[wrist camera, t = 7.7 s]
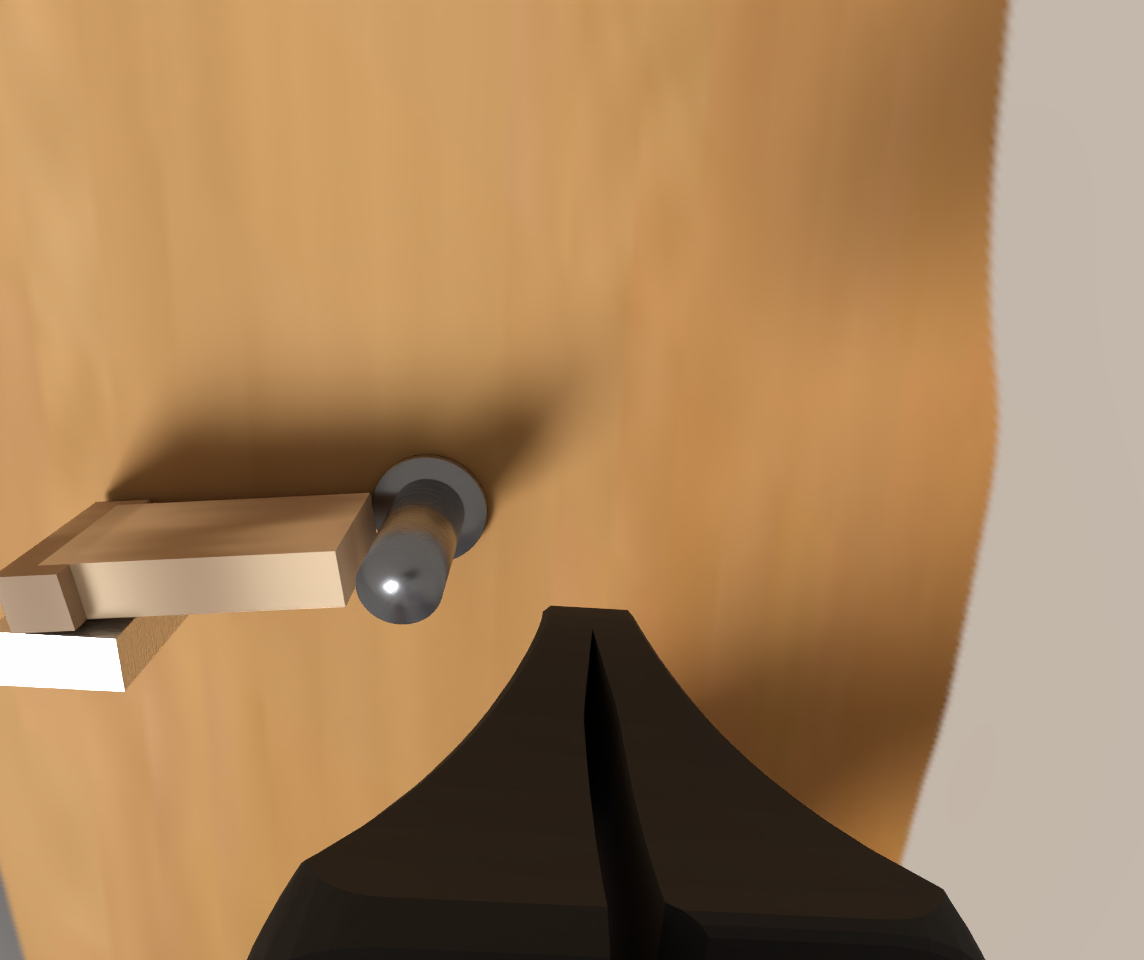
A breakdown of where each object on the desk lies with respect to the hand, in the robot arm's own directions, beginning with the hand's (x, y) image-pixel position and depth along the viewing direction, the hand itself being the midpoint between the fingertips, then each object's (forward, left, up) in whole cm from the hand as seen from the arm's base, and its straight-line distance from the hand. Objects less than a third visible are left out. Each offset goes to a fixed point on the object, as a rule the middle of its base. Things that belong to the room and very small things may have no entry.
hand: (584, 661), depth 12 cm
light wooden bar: (-3, +9, -10) cm, 14 cm away
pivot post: (-2, +4, -10) cm, 11 cm away
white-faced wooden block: (-5, +12, -10) cm, 16 cm away
